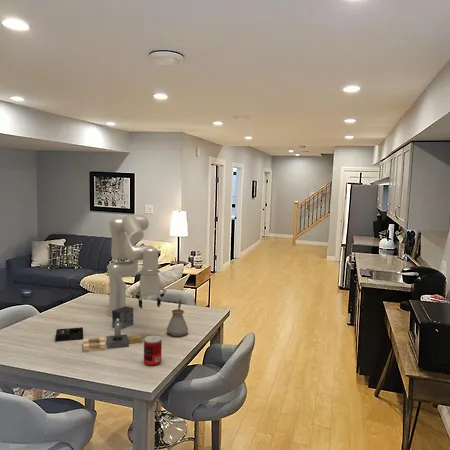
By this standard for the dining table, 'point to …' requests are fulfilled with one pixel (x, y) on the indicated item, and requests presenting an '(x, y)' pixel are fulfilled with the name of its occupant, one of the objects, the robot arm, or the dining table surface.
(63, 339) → the battery charger
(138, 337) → the yellow rectangular block
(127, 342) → the socket
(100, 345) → the frame
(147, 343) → the canned food
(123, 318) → the small box
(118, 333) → the clear plastic bottle
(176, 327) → the coffee pot
